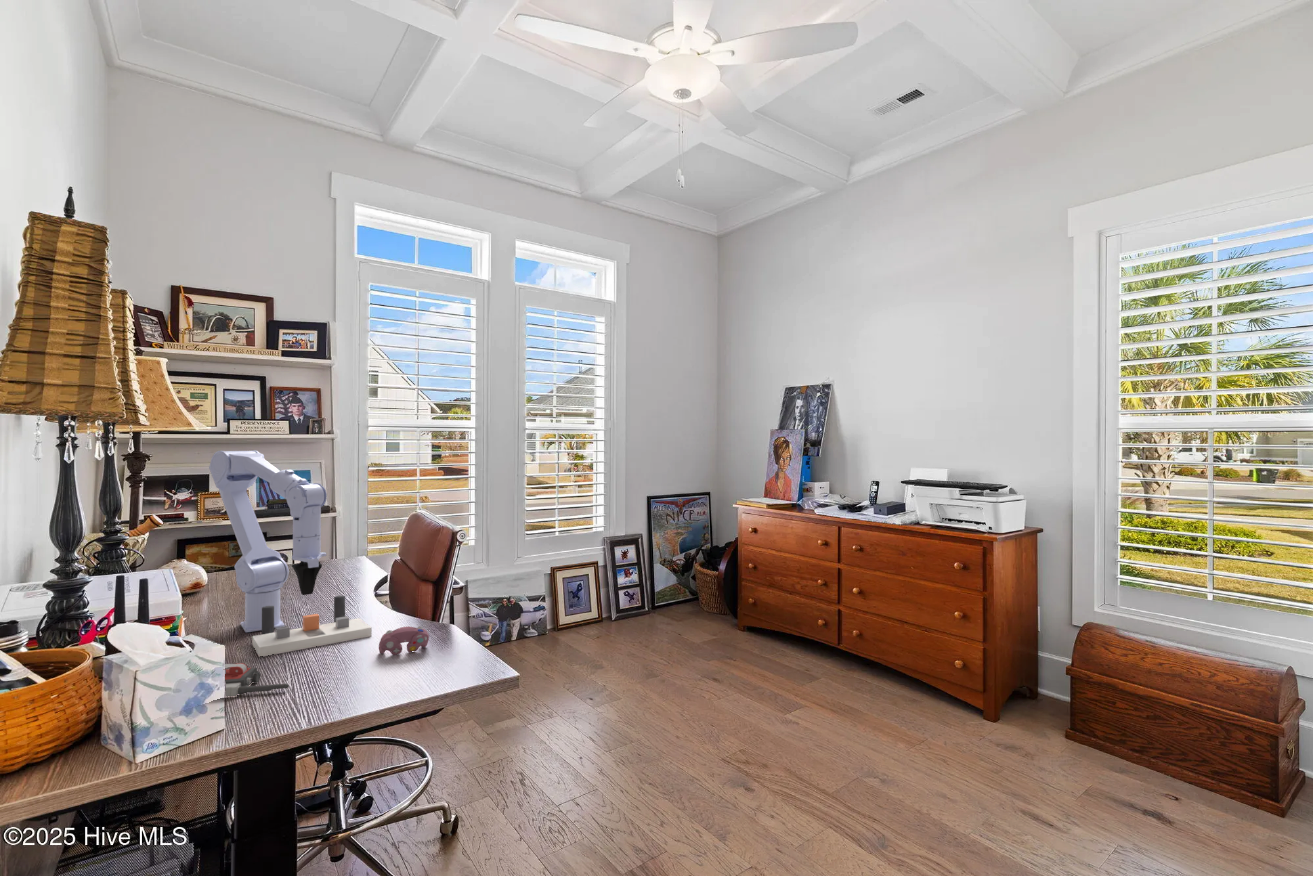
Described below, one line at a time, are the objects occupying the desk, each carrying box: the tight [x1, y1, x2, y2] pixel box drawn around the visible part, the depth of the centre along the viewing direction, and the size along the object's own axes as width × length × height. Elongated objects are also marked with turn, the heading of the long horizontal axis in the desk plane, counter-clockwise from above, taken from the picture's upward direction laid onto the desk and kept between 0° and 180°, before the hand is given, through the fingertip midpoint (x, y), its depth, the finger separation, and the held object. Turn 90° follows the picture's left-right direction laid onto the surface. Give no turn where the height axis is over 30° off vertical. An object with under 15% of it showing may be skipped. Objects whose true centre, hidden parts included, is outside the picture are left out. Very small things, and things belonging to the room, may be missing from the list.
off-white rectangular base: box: [251, 615, 373, 658], centre depth 141 cm, size 10×22×4 cm, turn 130°
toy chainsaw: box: [224, 662, 289, 696], centre depth 114 cm, size 9×4×20 cm
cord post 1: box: [261, 606, 275, 635], centre depth 144 cm, size 2×2×7 cm
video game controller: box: [378, 625, 430, 656], centre depth 133 cm, size 10×5×7 cm, turn 118°
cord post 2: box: [333, 595, 346, 623], centre depth 153 cm, size 2×2×7 cm
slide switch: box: [302, 613, 320, 631], centre depth 143 cm, size 2×3×3 cm, turn 130°
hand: (306, 594), depth 147 cm, fingers closed
